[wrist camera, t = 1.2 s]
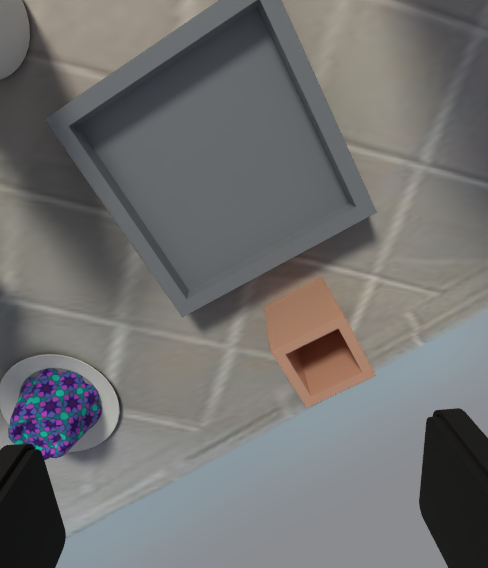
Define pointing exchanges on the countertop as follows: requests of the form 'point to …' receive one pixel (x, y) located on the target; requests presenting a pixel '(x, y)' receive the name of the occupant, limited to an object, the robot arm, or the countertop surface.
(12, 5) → the milk bottle
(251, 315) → the countertop surface
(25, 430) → the purple dotted hat
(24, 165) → the countertop surface
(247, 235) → the tray
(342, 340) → the open square box
